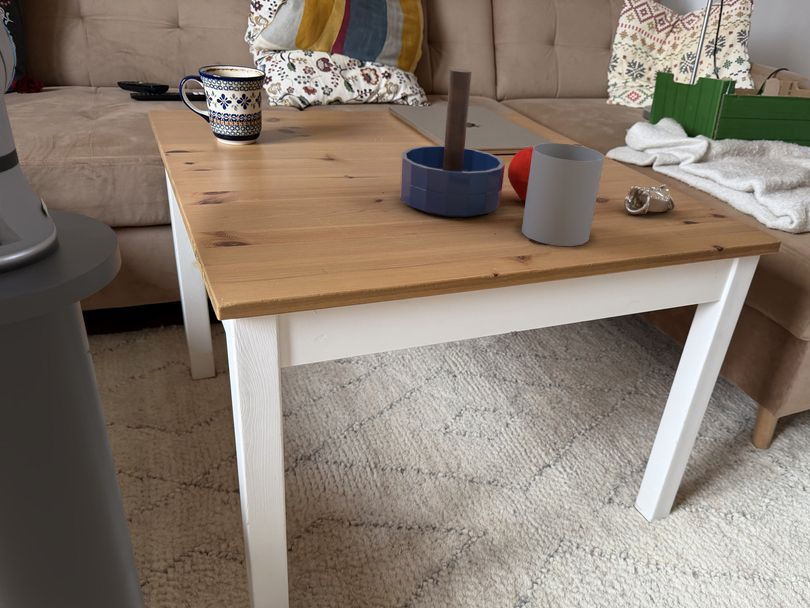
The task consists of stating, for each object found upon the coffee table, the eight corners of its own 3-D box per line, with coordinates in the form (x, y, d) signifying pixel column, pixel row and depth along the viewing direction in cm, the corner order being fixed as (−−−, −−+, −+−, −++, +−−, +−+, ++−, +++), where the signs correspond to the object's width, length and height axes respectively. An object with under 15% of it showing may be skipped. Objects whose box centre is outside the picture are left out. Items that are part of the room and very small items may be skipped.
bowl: (402, 217, 83) (404, 169, 80) (397, 186, 94) (399, 142, 91) (507, 222, 85) (513, 175, 82) (489, 191, 96) (494, 148, 93)
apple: (500, 190, 97) (506, 138, 93) (553, 193, 98) (561, 142, 94) (508, 208, 90) (515, 152, 86) (565, 211, 91) (575, 156, 87)
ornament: (647, 200, 99) (653, 176, 97) (682, 215, 94) (689, 190, 93) (607, 205, 95) (612, 179, 94) (641, 221, 90) (647, 194, 89)
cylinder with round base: (435, 203, 87) (444, 71, 79) (432, 193, 91) (441, 66, 83) (468, 205, 88) (481, 74, 80) (464, 194, 91) (476, 69, 83)
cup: (548, 249, 78) (562, 163, 73) (508, 226, 84) (518, 144, 79) (602, 241, 82) (619, 159, 77) (560, 219, 88) (573, 141, 83)
